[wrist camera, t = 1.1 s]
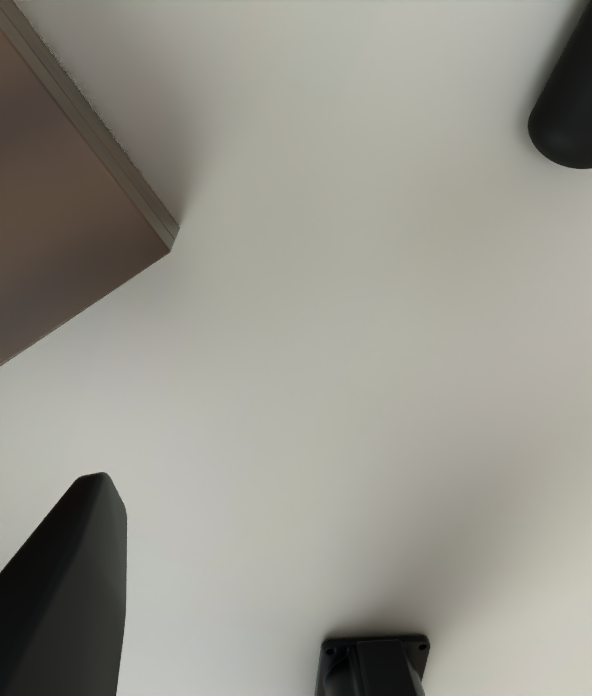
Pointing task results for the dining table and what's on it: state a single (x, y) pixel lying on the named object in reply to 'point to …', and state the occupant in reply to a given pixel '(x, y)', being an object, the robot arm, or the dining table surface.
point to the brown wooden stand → (62, 196)
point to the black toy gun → (567, 103)
